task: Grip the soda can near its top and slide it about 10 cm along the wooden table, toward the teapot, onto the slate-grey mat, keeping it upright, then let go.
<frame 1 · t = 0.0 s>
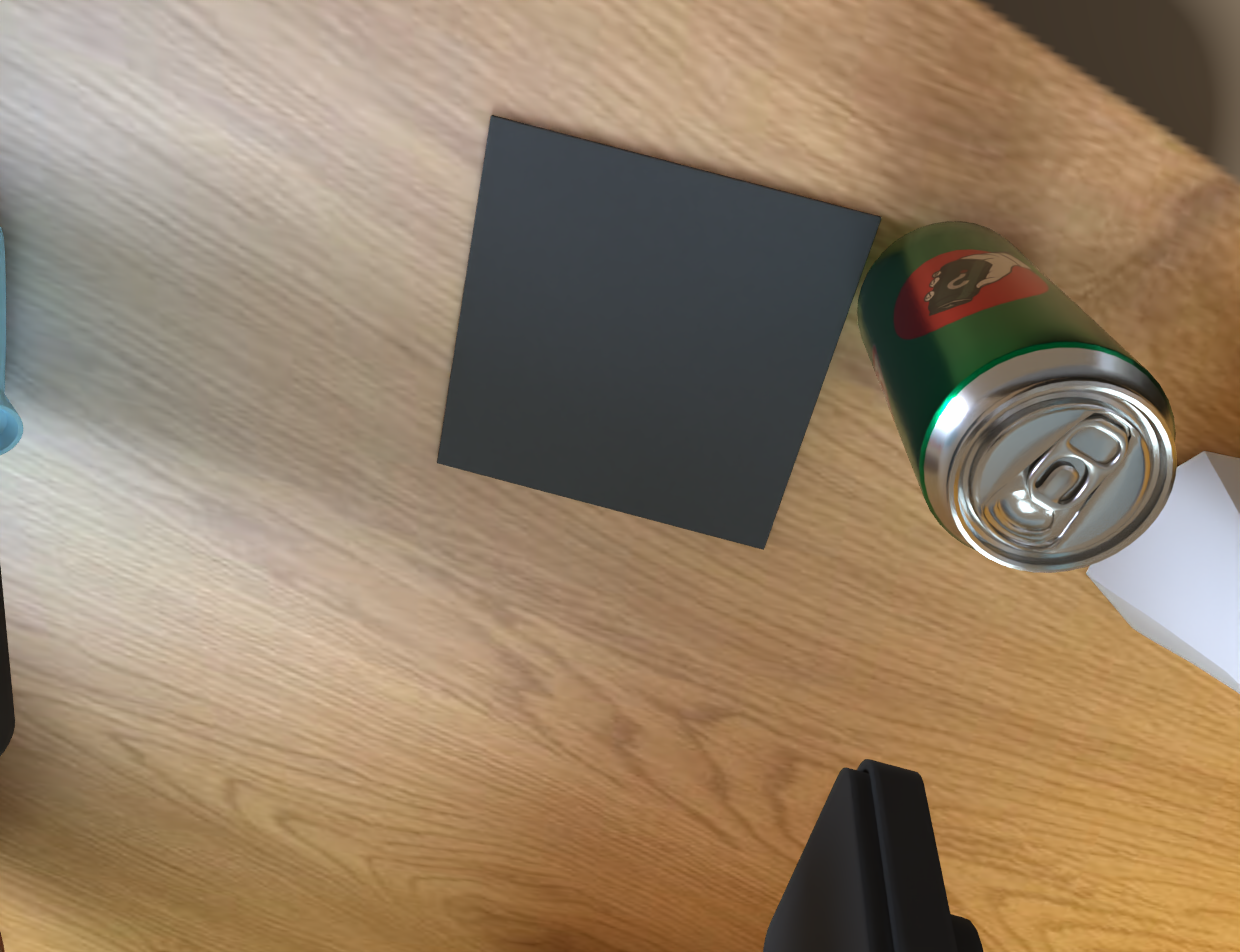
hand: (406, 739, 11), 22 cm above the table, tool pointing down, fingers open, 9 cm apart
mat: (639, 349, 32), on the table
soda can: (937, 298, 30), on the table, touching mat
flask: (1203, 545, 33), on the table
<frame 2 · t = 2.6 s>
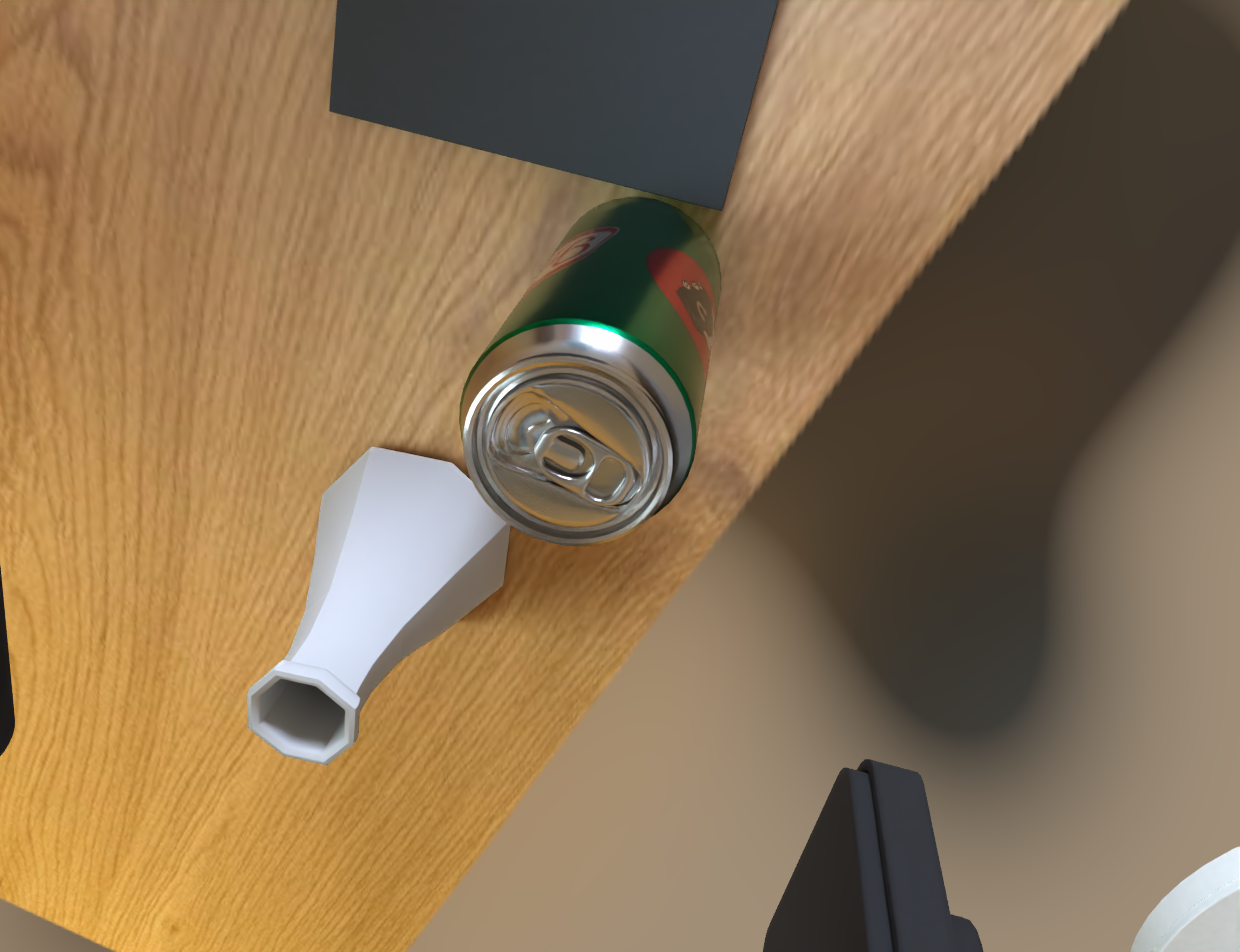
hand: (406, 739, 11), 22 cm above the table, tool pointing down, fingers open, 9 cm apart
soda can: (640, 273, 30), on the table, touching mat
flask: (418, 533, 36), on the table
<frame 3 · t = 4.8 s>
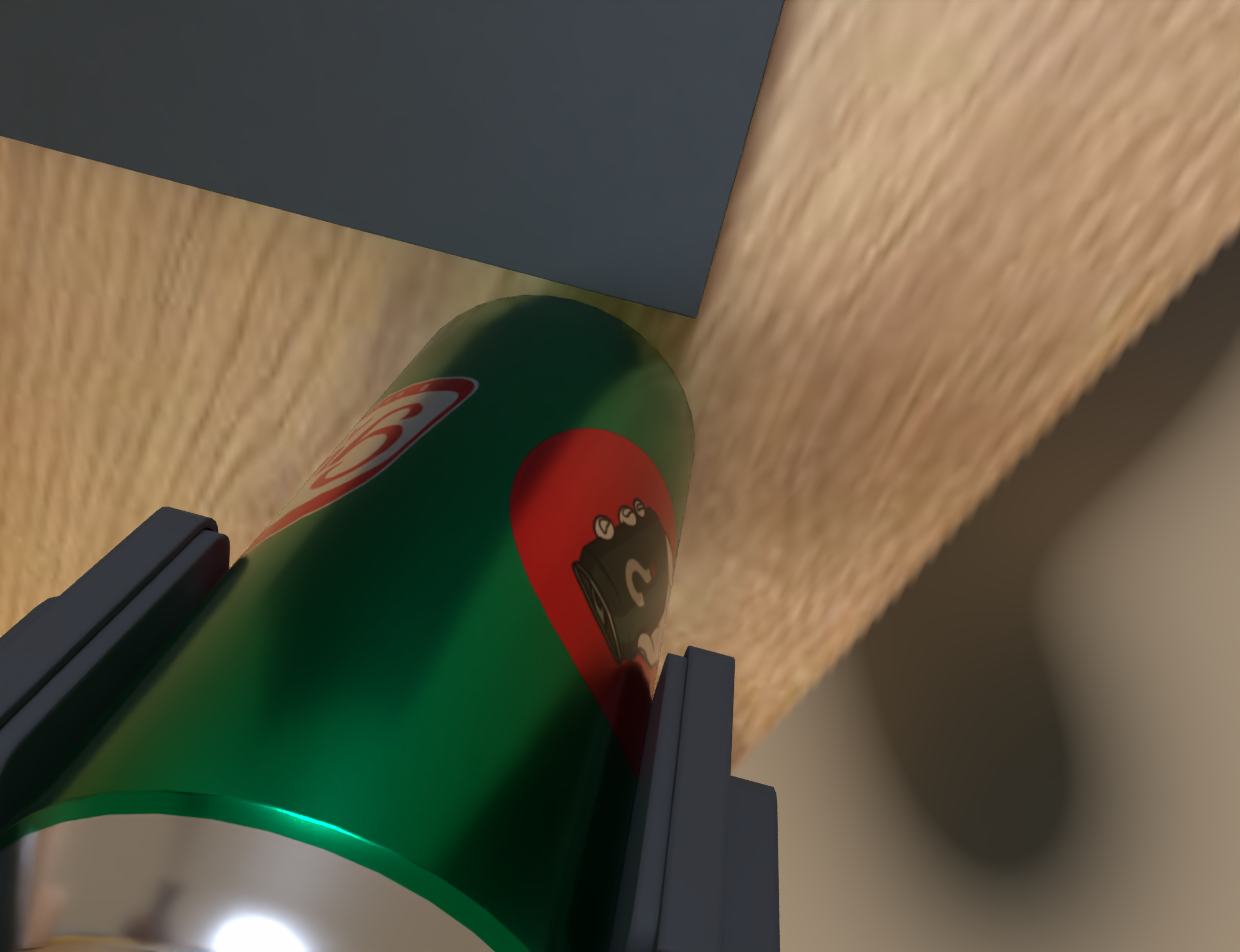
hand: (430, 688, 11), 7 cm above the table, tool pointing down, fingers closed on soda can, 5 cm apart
soda can: (556, 417, 17), on the table, touching gripper
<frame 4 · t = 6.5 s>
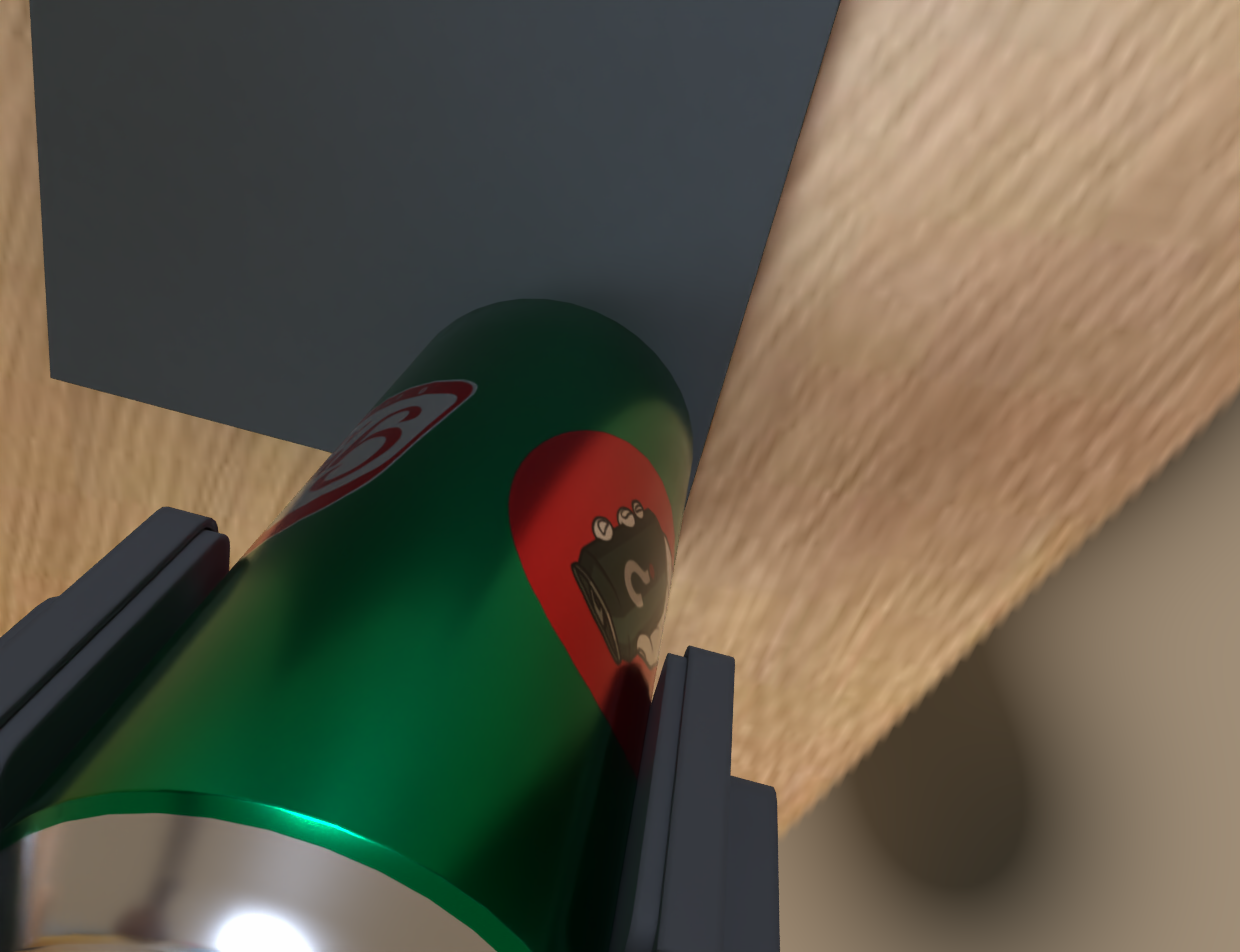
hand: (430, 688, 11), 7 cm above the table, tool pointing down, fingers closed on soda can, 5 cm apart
mat: (403, 129, 15), on the table
soda can: (554, 420, 17), resting on mat, touching gripper
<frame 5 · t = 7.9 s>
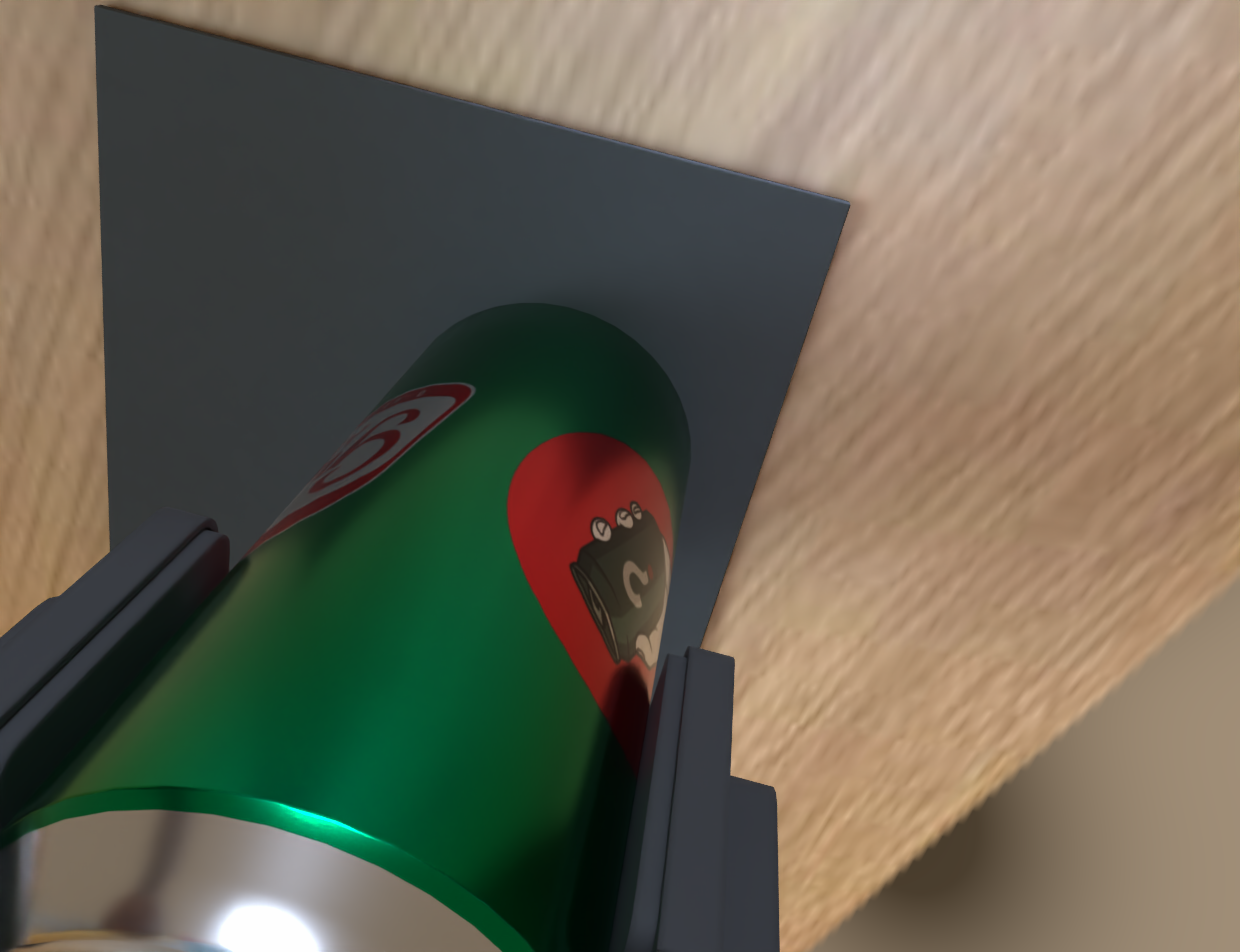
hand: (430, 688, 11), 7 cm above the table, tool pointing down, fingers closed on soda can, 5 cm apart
mat: (424, 440, 18), on the table
soda can: (552, 425, 17), resting on mat, touching gripper
when the fingers open (7 cm above the table, at t = 8.6 s): soda can stays where it is, resting on mat.
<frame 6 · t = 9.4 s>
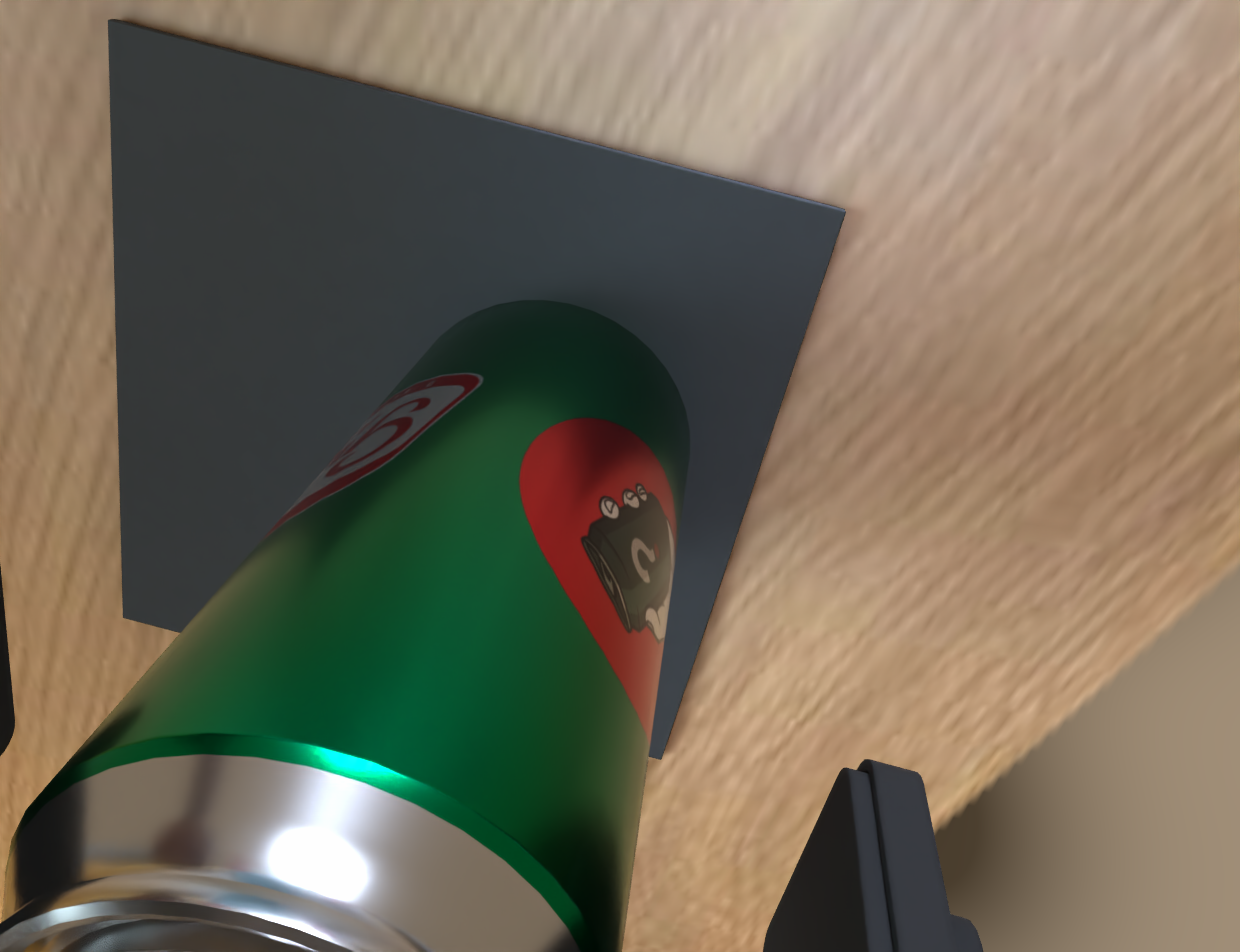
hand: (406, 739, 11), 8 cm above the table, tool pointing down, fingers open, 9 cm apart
mat: (430, 442, 18), on the table
soda can: (554, 421, 18), resting on mat
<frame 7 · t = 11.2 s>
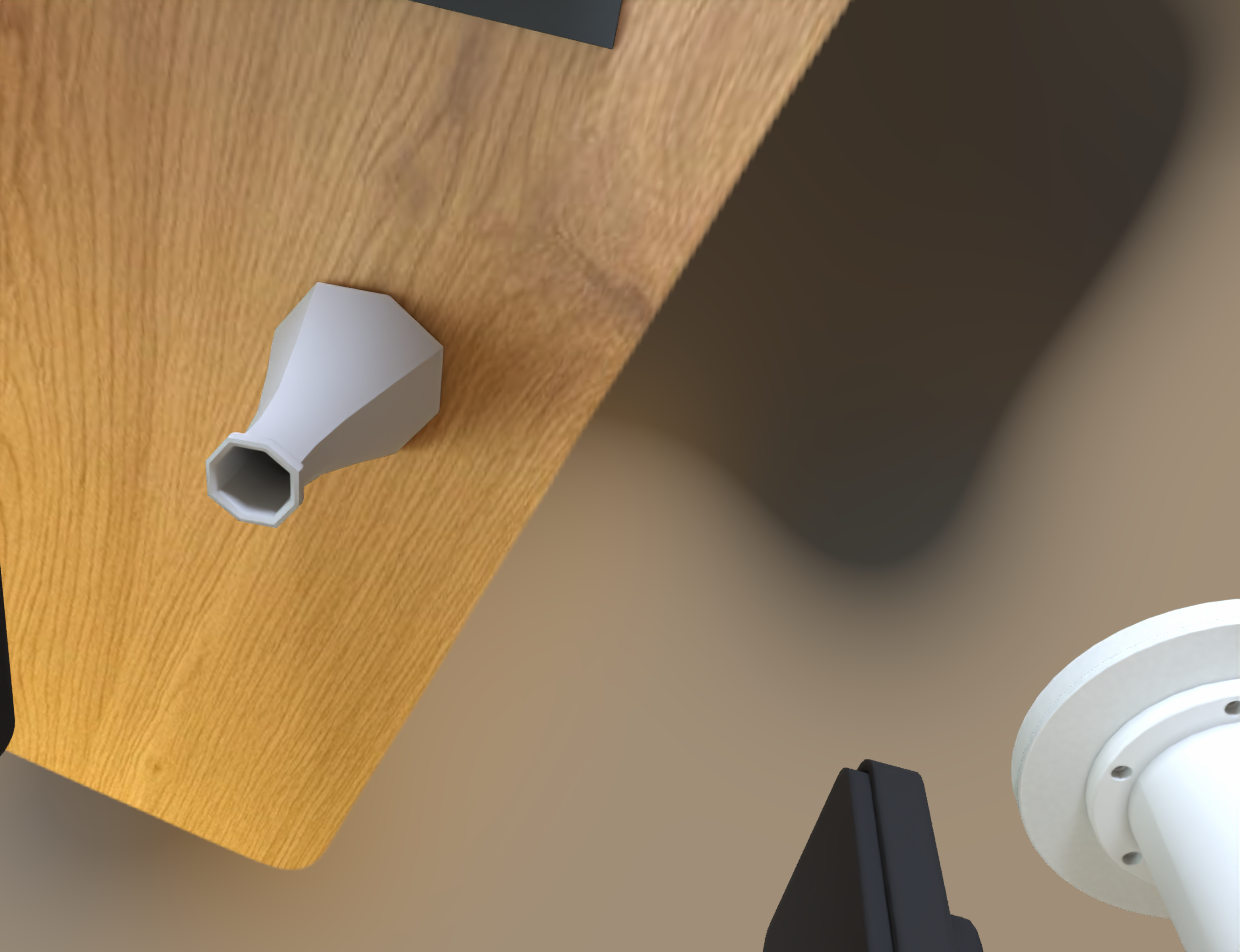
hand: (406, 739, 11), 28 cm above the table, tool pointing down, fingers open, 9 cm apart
flask: (362, 366, 40), on the table
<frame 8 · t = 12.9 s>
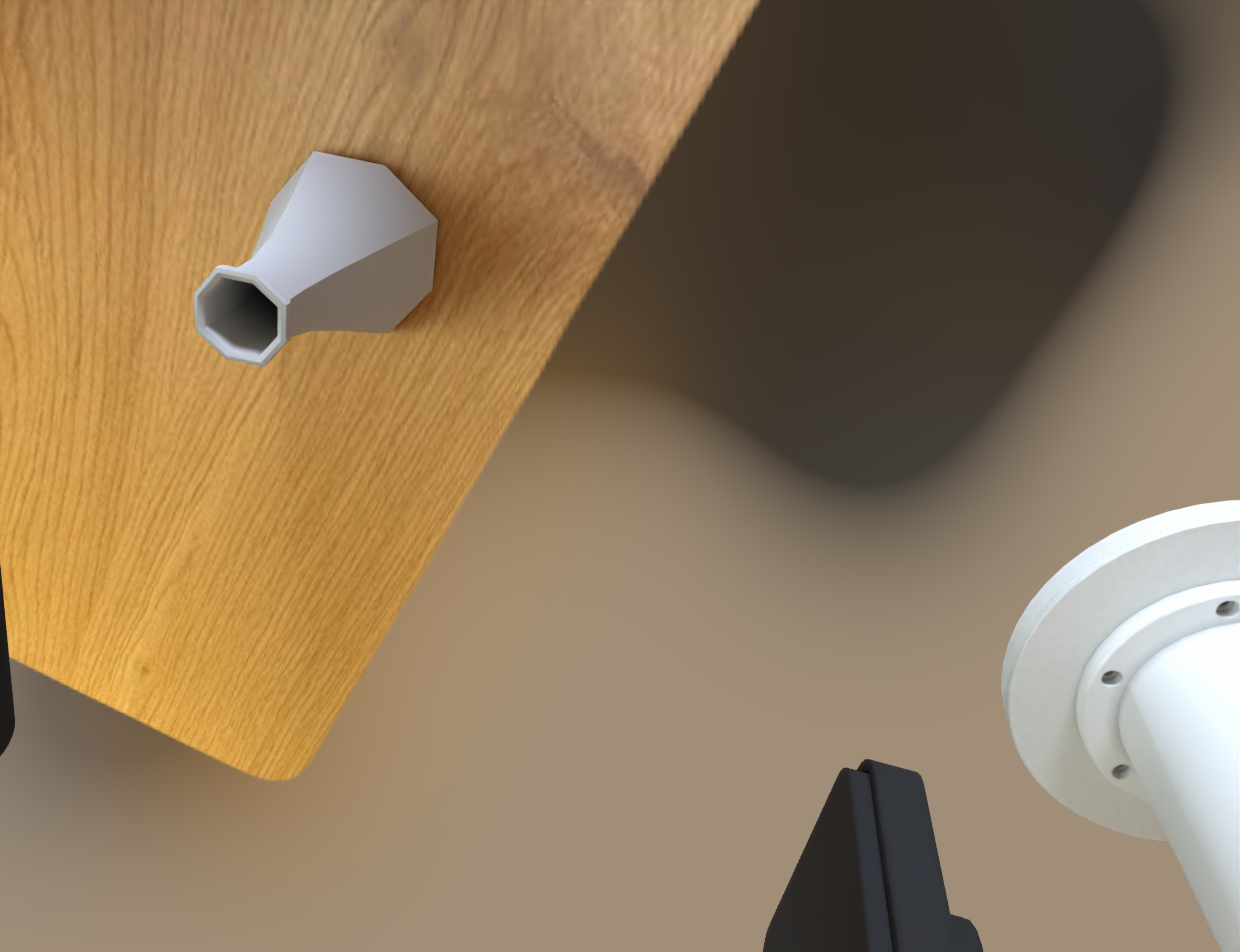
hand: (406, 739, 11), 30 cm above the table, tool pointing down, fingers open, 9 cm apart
flask: (357, 242, 40), on the table
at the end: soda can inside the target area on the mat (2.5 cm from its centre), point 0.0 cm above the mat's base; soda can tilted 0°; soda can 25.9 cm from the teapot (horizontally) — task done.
